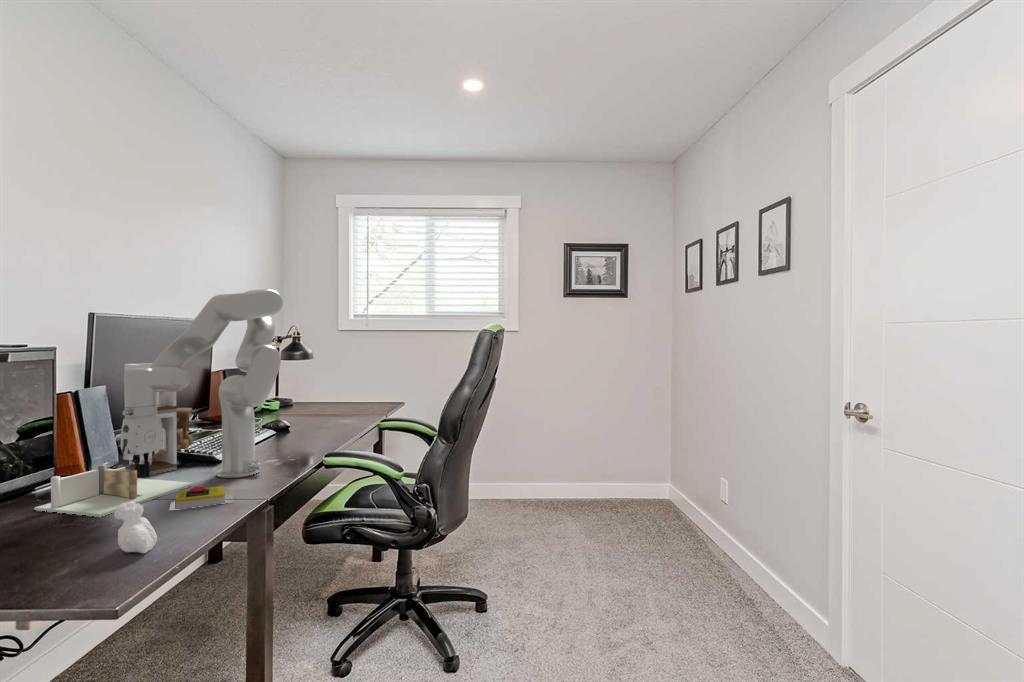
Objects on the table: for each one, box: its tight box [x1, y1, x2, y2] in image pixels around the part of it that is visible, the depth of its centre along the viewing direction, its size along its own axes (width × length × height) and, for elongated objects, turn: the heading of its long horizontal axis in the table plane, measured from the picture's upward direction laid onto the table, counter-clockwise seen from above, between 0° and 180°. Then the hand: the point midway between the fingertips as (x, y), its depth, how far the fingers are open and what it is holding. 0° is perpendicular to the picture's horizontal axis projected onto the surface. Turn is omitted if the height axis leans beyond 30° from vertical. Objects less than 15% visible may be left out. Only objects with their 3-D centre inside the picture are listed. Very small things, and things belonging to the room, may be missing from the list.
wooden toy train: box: [176, 407, 194, 450], centre depth 201 cm, size 20×11×17 cm, turn 24°
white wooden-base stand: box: [124, 362, 178, 476], centre depth 180 cm, size 11×11×35 cm
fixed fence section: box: [50, 464, 108, 508], centre depth 146 cm, size 14×2×8 cm, turn 167°
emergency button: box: [174, 485, 226, 509], centre depth 147 cm, size 9×4×15 cm
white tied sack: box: [113, 501, 158, 554], centre depth 115 cm, size 12×8×11 cm
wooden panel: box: [104, 468, 137, 498], centre depth 149 cm, size 12×2×7 cm, turn 69°
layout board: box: [33, 478, 195, 518], centre depth 151 cm, size 21×29×1 cm
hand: (142, 476), depth 154 cm, fingers closed
